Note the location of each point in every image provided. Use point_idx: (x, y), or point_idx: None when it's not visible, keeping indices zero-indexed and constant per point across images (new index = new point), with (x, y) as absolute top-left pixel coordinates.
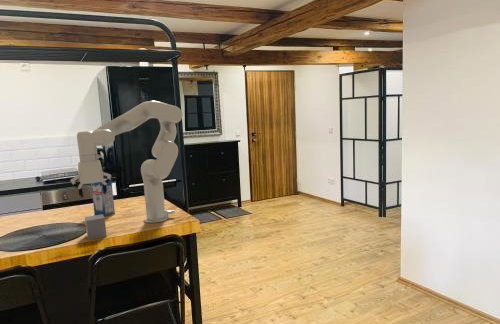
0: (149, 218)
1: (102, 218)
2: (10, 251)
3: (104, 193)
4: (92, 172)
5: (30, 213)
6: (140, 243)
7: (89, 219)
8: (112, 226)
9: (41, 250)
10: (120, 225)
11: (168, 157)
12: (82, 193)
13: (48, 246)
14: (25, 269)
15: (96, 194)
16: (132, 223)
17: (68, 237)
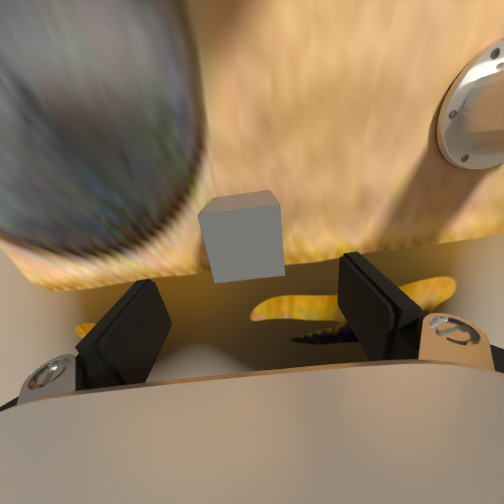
0: (466, 137)
1: (276, 275)
2: (13, 244)
3: (342, 306)
4: None
5: None
6: (343, 330)
7: (225, 269)
8: (304, 115)
9: (111, 276)
10: (336, 118)
11: None
12: (157, 351)
13: (117, 252)
14: None
15: None
16: (387, 114)
17: (150, 187)
